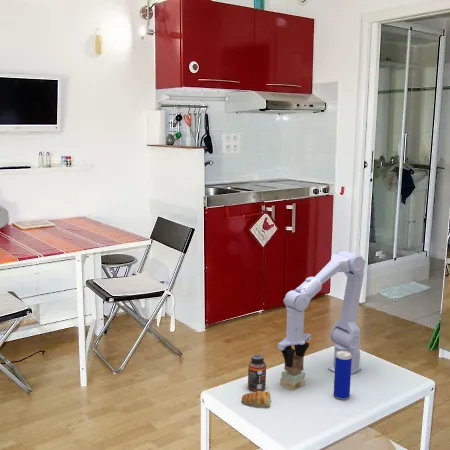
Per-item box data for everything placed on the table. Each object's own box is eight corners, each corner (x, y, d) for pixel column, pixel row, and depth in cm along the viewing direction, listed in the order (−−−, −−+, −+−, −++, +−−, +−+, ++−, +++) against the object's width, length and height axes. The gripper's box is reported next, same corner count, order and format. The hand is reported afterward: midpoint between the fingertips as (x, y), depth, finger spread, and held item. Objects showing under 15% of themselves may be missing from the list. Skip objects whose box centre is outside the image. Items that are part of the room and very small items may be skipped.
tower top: (291, 374, 190) (292, 367, 190) (304, 379, 186) (304, 372, 186) (281, 378, 186) (281, 372, 186) (294, 384, 182) (294, 377, 182)
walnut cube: (293, 365, 188) (293, 353, 188) (303, 370, 185) (303, 357, 184) (284, 369, 185) (284, 357, 185) (294, 373, 182) (294, 361, 181)
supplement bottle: (264, 393, 181) (265, 361, 179) (246, 391, 182) (247, 359, 180) (266, 385, 186) (267, 353, 184) (249, 383, 187) (250, 352, 185)
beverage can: (339, 391, 182) (341, 348, 180) (352, 396, 179) (355, 353, 176) (330, 396, 179) (332, 353, 176) (343, 402, 175) (346, 358, 173)
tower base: (291, 380, 191) (292, 373, 190) (304, 386, 186) (305, 379, 186) (280, 385, 187) (280, 378, 187) (293, 391, 183) (293, 384, 182)
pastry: (241, 407, 171) (241, 396, 171) (242, 397, 178) (242, 386, 177) (270, 409, 171) (271, 397, 170) (270, 398, 177) (271, 387, 177)
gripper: (289, 334, 175) (288, 374, 177) (318, 324, 184) (316, 362, 187) (273, 328, 180) (272, 367, 183) (302, 319, 190) (300, 356, 192)
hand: (293, 364), depth 185 cm, fingers closed on walnut cube, 4 cm apart
